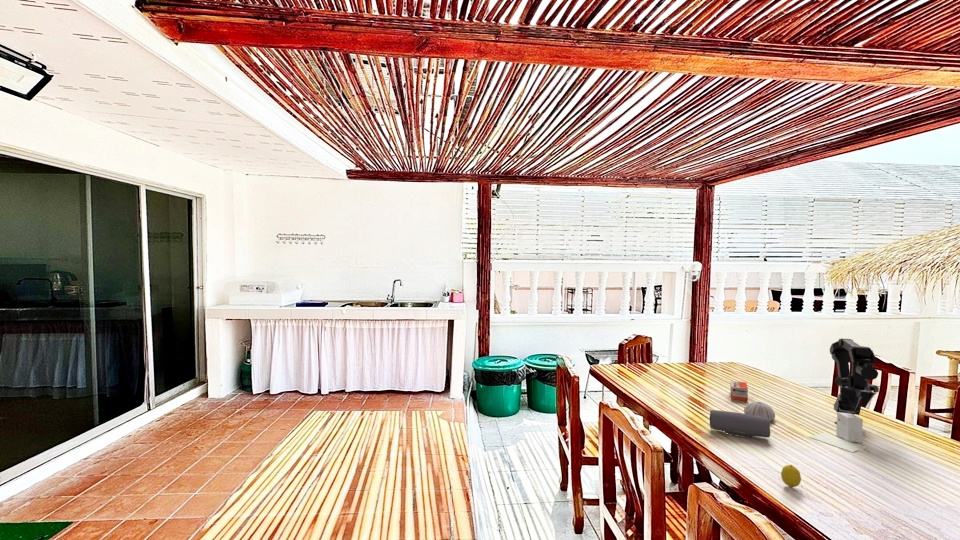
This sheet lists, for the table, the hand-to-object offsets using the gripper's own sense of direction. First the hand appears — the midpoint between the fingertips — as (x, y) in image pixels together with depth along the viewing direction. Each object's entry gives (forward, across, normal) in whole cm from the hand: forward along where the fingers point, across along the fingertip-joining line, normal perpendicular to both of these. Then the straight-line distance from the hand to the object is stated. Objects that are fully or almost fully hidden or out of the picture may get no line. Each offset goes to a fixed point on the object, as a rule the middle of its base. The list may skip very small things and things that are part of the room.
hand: (858, 408), depth 190 cm
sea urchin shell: (+13, +20, -32) cm, 40 cm away
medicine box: (+14, 0, -57) cm, 59 cm away
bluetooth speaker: (+13, +50, -21) cm, 56 cm away
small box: (+13, +8, 0) cm, 15 cm away
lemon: (+13, +76, +16) cm, 78 cm away
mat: (+13, +17, 0) cm, 21 cm away
